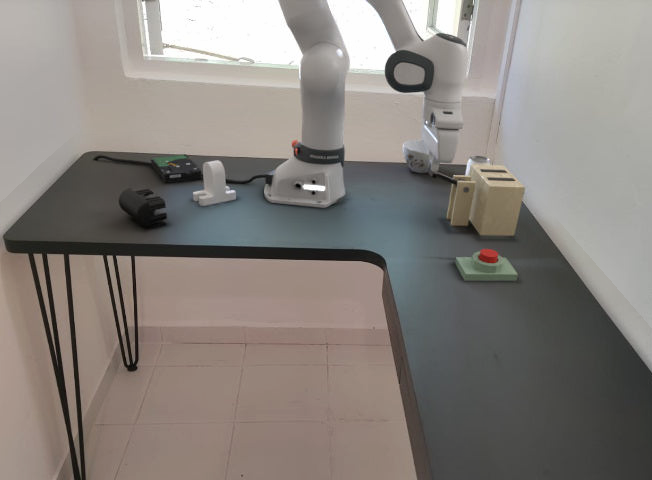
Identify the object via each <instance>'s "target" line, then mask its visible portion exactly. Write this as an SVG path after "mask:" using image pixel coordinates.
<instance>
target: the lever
mask: <svg viewBox="0 0 652 480" xmlns="http://www.w3.org/2000/svg"><path fill="white" fill-rule="evenodd" d="M427 171H428V172H427V173H428V174H429V176H430V177H431V178H432V179H435V180H436V179H437V178H438V179H441V180H443V181H445V182H447V183H450V184H451V185H452V184H454V185H456V186H455V187H456V188H457V182H458V181H466V180H463V179H461V178H459V180H458V181H457V180H455V179H453V177H450V176H448V175H446V174H443V173H441V172H439V171H432V170H431V169H430V167H428V169H427Z"/></svg>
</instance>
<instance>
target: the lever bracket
mask: <svg viewBox="0 0 652 480" xmlns="http://www.w3.org/2000/svg"><path fill="white" fill-rule="evenodd" d="M452 178H453V179H455V180H457V181H458V180H459V178H461V179H463V180H466V181H458V182H457V188H456V187H455V186H456V185H454V184H452V183H451V188H450V194H449V199H448V205H447V212H446V219H447V220H450V226H453V227H454V226H455V227H457V226H459V227H460V226H461V227H468V226H469V221H470V220H469V216H470V211H471V206H472V200H473V195H474V189H475V184H476V182H475V181H471V176H465V174H464V175H463V174H462V175H461V174H453V176H452Z"/></svg>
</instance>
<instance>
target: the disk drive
mask: <svg viewBox="0 0 652 480" xmlns="http://www.w3.org/2000/svg"><path fill="white" fill-rule="evenodd" d="M150 163H152V166H151V167H152V168H153V169H154V170H155V172H156V173H157V175H159V177H160V178H161V180H163V182H165V183H175V182H176V183H177V182H186V181H193V180H200V179H203V177H202V174H203V172H202V170H201V168H200V167H199V166H198V165H197V164H196V163H195V162H194V161H193V160H192V159H191V158H190V157H189V156H188V155H187V154H174V155H173V154H172V155H167V156H158V157H157V156H156V157H155V156H152V157H151V159H150Z"/></svg>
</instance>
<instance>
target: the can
mask: <svg viewBox="0 0 652 480" xmlns="http://www.w3.org/2000/svg"><path fill="white" fill-rule="evenodd" d="M490 161H491V160H490V159H489V158H488V157H486V156H482V155H471V156H470V157H469V160H468V161H467V163H466V167H465V174H464V175H465V176H469V172H470V167H471V164H480V165H491V163H490Z"/></svg>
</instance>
